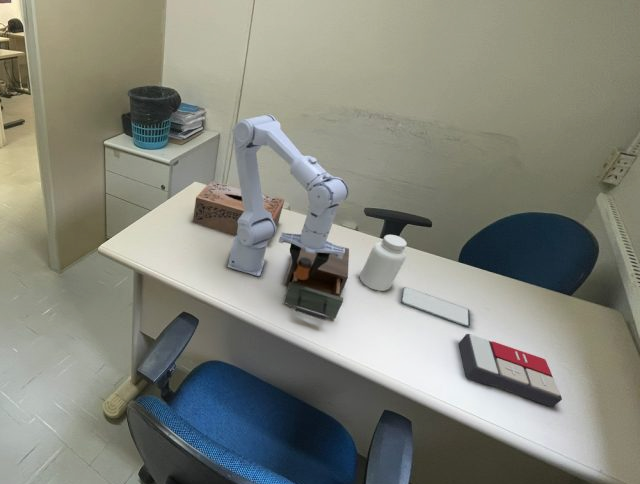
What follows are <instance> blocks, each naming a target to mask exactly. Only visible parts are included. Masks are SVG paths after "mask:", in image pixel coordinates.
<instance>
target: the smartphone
mask: <svg viewBox="0 0 640 484" xmlns="http://www.w3.org/2000/svg"><path fill="white" fill-rule="evenodd" d="M401 303H402V304H404V305H407V306H409V307H412V308H414V309H418V310H420V311H424V312H426V313H429V314H431V315H434V316H437V317H440V318H443V319H445V320H448V321H450V322H454V323H456V324H459V325H462V326H464V327H470V326H471V315H470V314H471V313H470V310H469V309H468V308H466V307H463V306H460V305H457V304H454V303H452V302H448V301H446V300H443V299H440V298H438V297H434V296H431V295H429V294H427V293H423V292H419V291H417V290H415V289H411V288H408V287H403V289H402V294H401Z"/></svg>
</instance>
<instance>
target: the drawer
mask: <svg viewBox="0 0 640 484" xmlns="http://www.w3.org/2000/svg"><path fill="white" fill-rule="evenodd" d="M340 280H341V278H338V277H334V276H331V275H327V274H323V273H320V272H316V271H315V272H314V274H313V276H310V275H309V277H308V279H306V280H300V279H298V278H296V277H295V276H294V274H293V278H292V282H290V284H289V286H287V290H286V293H285V296H284V299H283V303H284V304H286V305H289V306H293V307H295V308H294V311H295V312H297V313H301V314H304V315H306V316H310V317H313V318H316V319H320V320H323V321H326V319H327V318H331V319H333V320H336V318H337V315H338V313H339V311H340V309H341V307H342V304H343V302H344V297H342V296H340V297H339V294H340Z"/></svg>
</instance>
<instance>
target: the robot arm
mask: <svg viewBox="0 0 640 484" xmlns="http://www.w3.org/2000/svg"><path fill="white" fill-rule="evenodd" d="M281 127H282V126H281V122H279V121H278V120H277V119H276V118H275V116H274V115H272V114H264V115H260V116H255V117H250V118H245V119H244V118H243V119H240V120H238V121H237V122H236V123H235V125H234V127H233V128H232V131H231V132H232V138H233V144H234V156H235V162H236V168H237V175H238V183H239V188H240V189H241V195H242V202H243V208H244V212H243V214H242V215H241V216H240V218H239V219H238V221H237V222H238V229H237V236H235V235H234V239H233V241H232V244H231V247H230V252H229V260H228V262H227V263H228V264H227V268H229V269H231V270H235V271H239V272H242V273H245V274H249V275H251V276H256V277H261V273H262V271H263V268H264V264H265V260H264V258H265V254H266V250H267V247H268V245H267V243H268V242H269V243H270V241H271V239H272V238H274V237H275V236H276V235H277V227H276V225H275V223H274V221H273V219H272V214H271V213H270V212H268V211H267V210H265V209H264V204H263V197H262V194H263V191H262V183H261V177H260V171H259V170H260V169H259V165H258V164H259V163H258V157H257V153H258V151H259V150H260V149H261V148H262V146H267V147H269V148H271V150H272V151H274V152H275V153H276V155H278V156H279V157H280V158H281V159H283V161H285V162H286V164H288V165H289V166H290V169H289V172H290V175H292V177H293V178H294V179H295V180H296V181H297V182H298V183H299V184H300V185H301V186H302V187H303V188H304V190H306V192H307V199H308V203H309V204H308V209H307V210H308V211H307V213H306V217H305V220H304V223H303V226H302V230H301V233H288V232H283V231H281V233H280V235H279V239H278V243H280V244H284V243H285V244H288V245H289V244H290V246H289V254H290V257H292V271H295V269H296V264H297V260H298V257H299V254H300V250H301V248H303V249H305V252H307V253H311V254H314V253H315V252H317V254H316V257H315V260H314V262H313V264H312V269H311V271H310V274H309V275H310V276H313V274H314V272H315V271H316V270H317V269H318V268H319V267H320V266H321V265H323V264H324V263H326V262H327V261H328V259H329V255H330V254H331V255H335V256H337V258H340V259H342V258H343V255H344V252H345V248H346V247H345V248H342V247H343V246H341V247H339V246H340V245H337V244H334V243H332V242H330V241H327V240H328V237H329V234H330V232H331V229H332V227H333V223H334V222H335V217H336V215H337V212H338V210H339V206H340V204H341V203H342V202H344V201H346V200H347V198H348V196H349V194H350V192H349V187H348V184H347V183H346V181H345V180H344V179H343V178H342V177H337V176H333V174H332V175H331V174H330V173H329V172H327V171H326V169H324V167H322V166H321V165H320V164H319V163H318V160H317V158H316V157H312V155H303V154H302V153H301V152H300V150H298V148H297V147H296V145H294V143H293V142H292V140H290V138H289V137H288V136H287V135H286V134H285V132H283V130H282V128H281ZM270 238H271V239H270ZM269 240H270V241H269ZM269 243H268V244H269ZM336 245H337V246H336Z"/></svg>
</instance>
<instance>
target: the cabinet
mask: <svg viewBox="0 0 640 484" xmlns="http://www.w3.org/2000/svg"><path fill="white" fill-rule="evenodd" d="M335 245H336V246H339V247H342V248H345V252H344V255H343V258H342V259H340V258H337V256H335V255H331V254H330V255H329V259H328V261H327V262H326V263H324V264H323V265H321V266H320V267H319V268H318V269H317V270H316V272H320V273H323V274H327V275H331V276H334V277H338V278H341V280H340V294H339V297H341V294H342V293H343V291H344V289H345V285H346V283H347V280H348V279H349V260H350V248H348V247H344V246H342V245H341V246H340V245H337V244H335ZM316 254H317V252H315V253H314V254H311V253H307V252H305V249H303V248H301V250H300V254H299V257H298V260H300V258H308V259H310V260H311V262H312V263H311V264H313V262H314V260H315V257H316ZM290 257H291V256H290ZM298 260H297V261H298ZM293 274H294V271H292V257H291V258H290V262H289V266H288V271H287V275H286V279H285V283H284V286H287V287H289V284H290V282H292V278H293Z"/></svg>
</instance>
